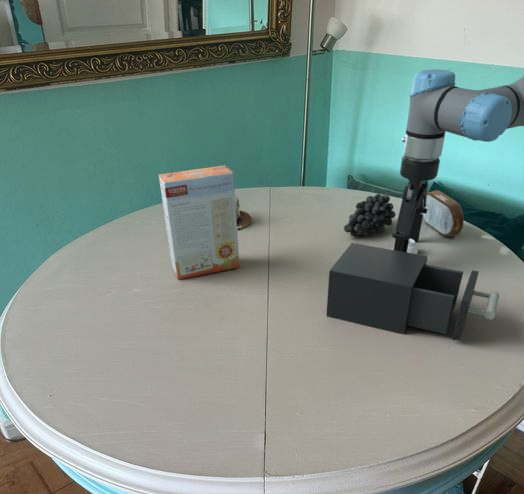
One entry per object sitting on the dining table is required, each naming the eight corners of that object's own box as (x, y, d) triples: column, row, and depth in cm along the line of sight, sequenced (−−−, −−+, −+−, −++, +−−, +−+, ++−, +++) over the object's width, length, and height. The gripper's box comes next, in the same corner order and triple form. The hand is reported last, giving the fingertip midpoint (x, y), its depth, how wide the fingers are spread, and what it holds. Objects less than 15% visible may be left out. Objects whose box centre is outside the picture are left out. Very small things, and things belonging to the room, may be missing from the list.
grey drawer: (493, 313, 95) (504, 276, 90) (486, 347, 87) (497, 307, 82) (397, 293, 101) (403, 257, 97) (381, 323, 93) (387, 285, 89)
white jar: (399, 246, 120) (391, 254, 117) (401, 234, 119) (393, 242, 115) (420, 251, 118) (412, 260, 115) (422, 239, 116) (414, 247, 113)
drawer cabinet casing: (419, 301, 101) (427, 256, 95) (404, 334, 92) (412, 287, 86) (347, 285, 106) (351, 242, 100) (326, 316, 97) (329, 270, 91)
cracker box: (231, 257, 118) (226, 163, 105) (240, 268, 113) (235, 172, 101) (171, 268, 114) (157, 172, 101) (177, 280, 109) (164, 181, 97)
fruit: (353, 205, 117) (398, 189, 124) (329, 207, 124) (373, 191, 131) (359, 243, 120) (403, 225, 127) (335, 242, 127) (378, 225, 134)
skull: (209, 206, 140) (233, 179, 134) (237, 233, 142) (262, 208, 136) (194, 222, 130) (218, 194, 124) (224, 251, 132) (250, 224, 127)
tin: (460, 241, 122) (468, 206, 117) (448, 243, 122) (456, 208, 117) (427, 217, 134) (433, 185, 129) (416, 219, 133) (421, 186, 128)
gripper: (416, 139, 115) (402, 228, 128) (386, 172, 97) (374, 272, 110) (451, 142, 113) (433, 233, 125) (427, 177, 95) (409, 280, 107)
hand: (405, 252), depth 118 cm, fingers open, 13 cm apart
